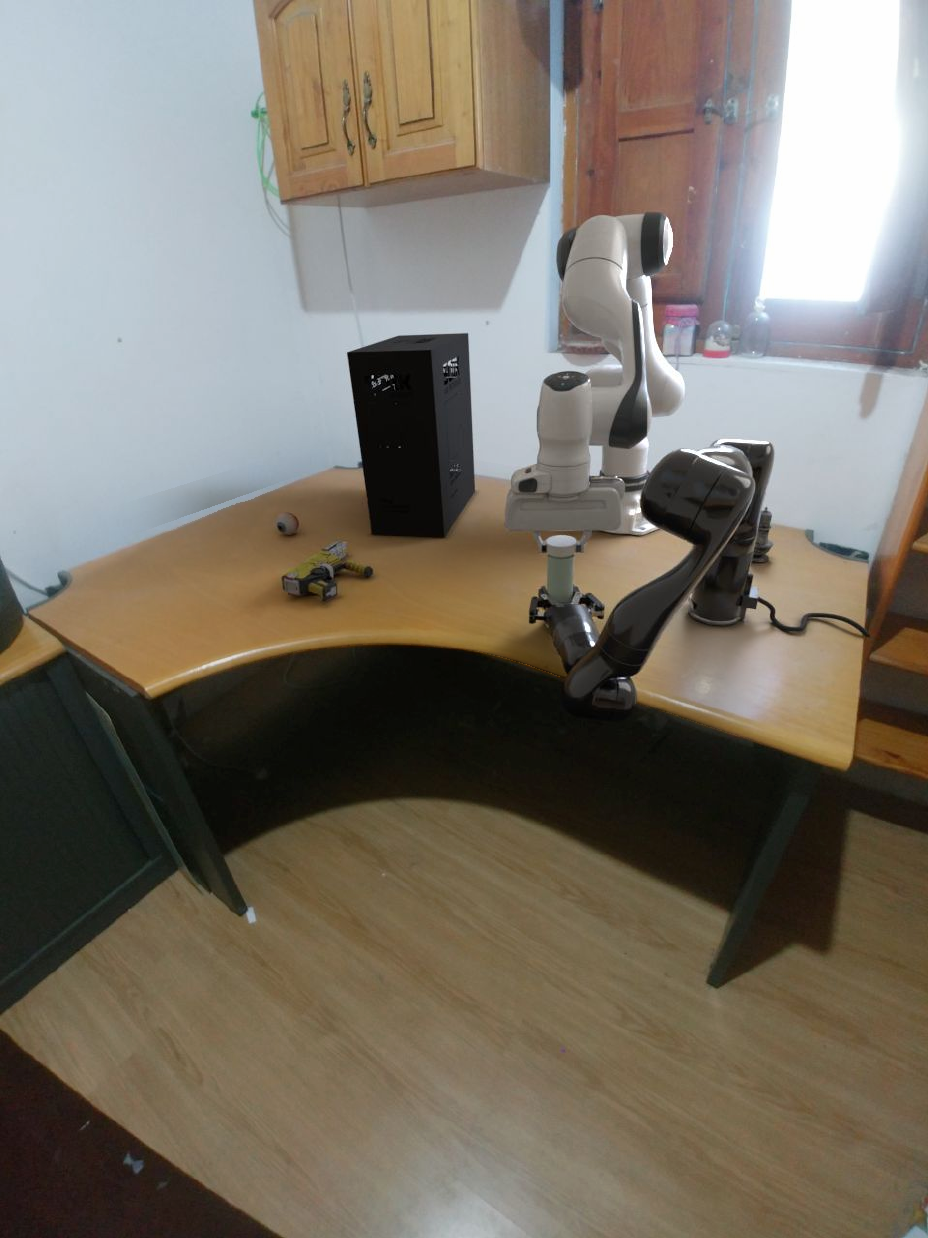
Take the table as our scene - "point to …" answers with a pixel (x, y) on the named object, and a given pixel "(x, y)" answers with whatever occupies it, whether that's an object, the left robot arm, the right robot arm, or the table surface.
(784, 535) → the table surface
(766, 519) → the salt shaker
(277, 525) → the eyeball
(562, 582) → the jar
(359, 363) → the black boxy piece
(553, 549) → the lid
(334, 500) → the table surface
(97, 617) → the table surface
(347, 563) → the toy gun
